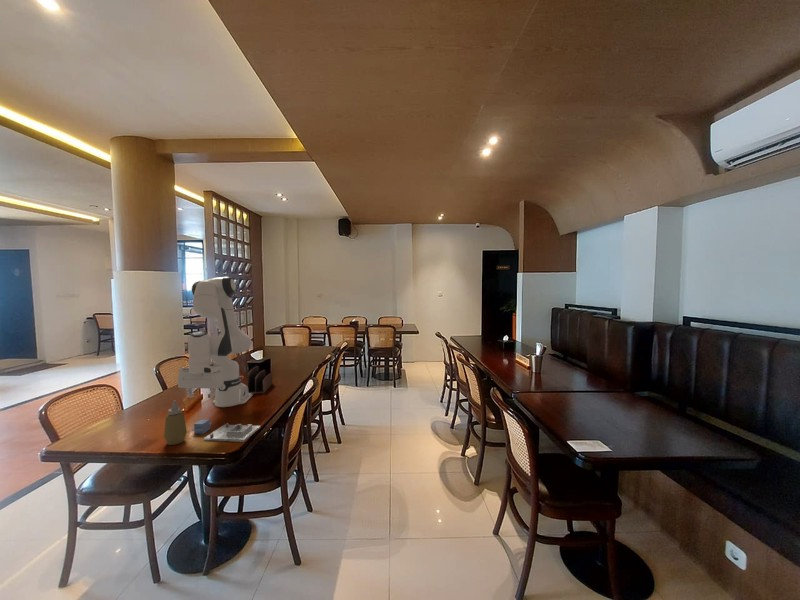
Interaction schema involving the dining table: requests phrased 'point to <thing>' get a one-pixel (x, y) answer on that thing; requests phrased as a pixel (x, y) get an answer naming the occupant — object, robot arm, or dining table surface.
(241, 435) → the chassis
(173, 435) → the squeeze bottle
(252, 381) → the letter holder
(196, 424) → the servo
